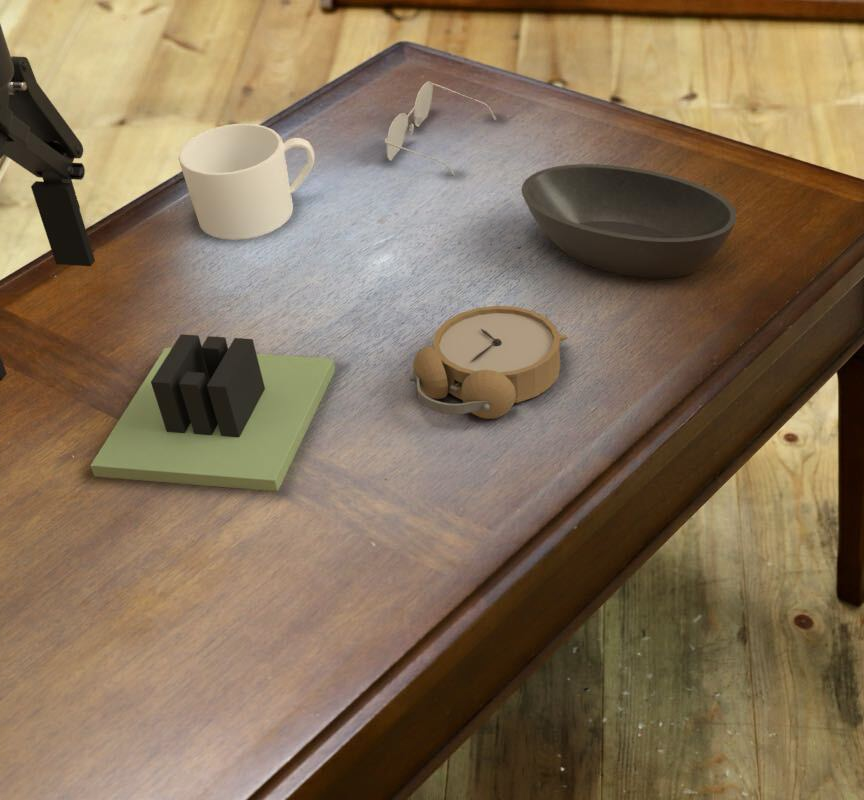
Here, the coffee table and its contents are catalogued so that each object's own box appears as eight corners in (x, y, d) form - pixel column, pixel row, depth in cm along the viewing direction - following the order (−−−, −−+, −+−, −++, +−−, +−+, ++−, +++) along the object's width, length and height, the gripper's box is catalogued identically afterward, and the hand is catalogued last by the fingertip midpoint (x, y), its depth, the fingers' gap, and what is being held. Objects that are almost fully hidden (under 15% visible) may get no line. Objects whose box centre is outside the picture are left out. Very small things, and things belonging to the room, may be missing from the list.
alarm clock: (586, 327, 123) (486, 397, 112) (583, 375, 126) (485, 447, 115) (484, 292, 128) (379, 354, 117) (483, 338, 131) (381, 404, 119)
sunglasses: (431, 111, 161) (432, 73, 158) (498, 129, 160) (501, 92, 157) (382, 170, 151) (383, 131, 148) (454, 191, 150) (456, 152, 147)
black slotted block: (166, 432, 117) (150, 381, 113) (195, 383, 121) (180, 334, 118) (239, 437, 116) (225, 387, 112) (265, 388, 121) (252, 338, 117)
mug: (196, 250, 141) (177, 181, 135) (195, 198, 148) (177, 131, 143) (328, 230, 143) (314, 161, 137) (320, 179, 151) (307, 113, 145)
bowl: (556, 203, 145) (552, 151, 141) (754, 246, 137) (756, 192, 133) (502, 263, 137) (497, 210, 133) (709, 313, 129) (710, 258, 125)
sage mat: (94, 478, 115) (83, 449, 113) (169, 360, 127) (160, 331, 125) (278, 493, 112) (270, 463, 110) (336, 371, 124) (330, 342, 122)
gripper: (-125, 128, 72) (-4, 436, 86) (81, -50, 92) (154, 224, 105) (-255, 122, 73) (-115, 426, 87) (-24, -53, 92) (62, 219, 106)
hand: (33, 316), depth 96 cm, fingers open, 13 cm apart
